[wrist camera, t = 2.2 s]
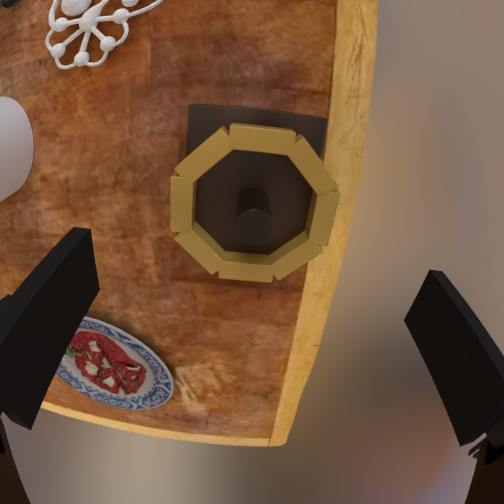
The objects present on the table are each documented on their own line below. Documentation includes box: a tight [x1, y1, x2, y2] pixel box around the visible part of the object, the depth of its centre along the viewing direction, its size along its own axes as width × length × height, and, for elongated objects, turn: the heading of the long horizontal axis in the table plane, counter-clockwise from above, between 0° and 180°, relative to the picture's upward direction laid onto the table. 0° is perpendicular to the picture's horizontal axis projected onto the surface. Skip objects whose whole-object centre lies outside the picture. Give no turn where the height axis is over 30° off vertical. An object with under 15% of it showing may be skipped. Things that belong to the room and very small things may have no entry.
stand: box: [186, 104, 327, 255], centre depth 24 cm, size 13×13×13 cm
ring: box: [170, 123, 340, 283], centre depth 21 cm, size 12×12×2 cm
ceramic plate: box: [56, 316, 174, 410], centre depth 44 cm, size 26×26×3 cm
